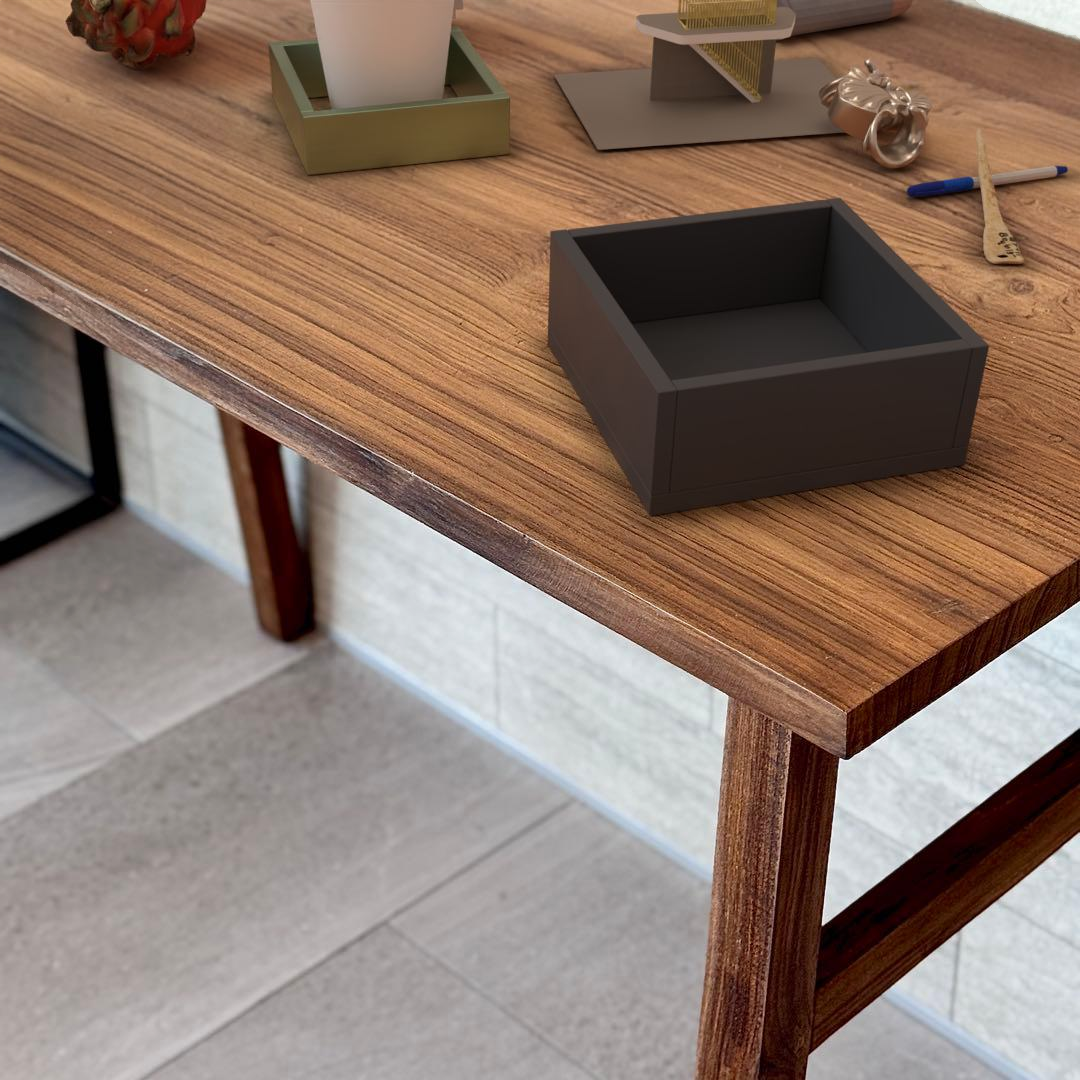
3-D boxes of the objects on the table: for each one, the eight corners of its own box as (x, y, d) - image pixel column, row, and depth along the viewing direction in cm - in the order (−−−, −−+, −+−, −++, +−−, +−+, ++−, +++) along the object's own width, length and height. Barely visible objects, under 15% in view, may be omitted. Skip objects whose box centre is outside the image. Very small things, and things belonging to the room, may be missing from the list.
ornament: (950, 173, 99) (977, 120, 97) (857, 174, 96) (882, 118, 94) (882, 100, 104) (905, 47, 102) (791, 98, 101) (813, 44, 98)
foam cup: (283, 143, 99) (266, -83, 91) (344, 86, 106) (333, -127, 98) (434, 166, 97) (430, -63, 89) (486, 107, 104) (486, -110, 96)
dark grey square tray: (649, 516, 69) (658, 392, 66) (547, 344, 80) (550, 230, 77) (965, 465, 73) (990, 345, 69) (825, 307, 84) (840, 196, 80)
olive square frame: (307, 175, 95) (303, 117, 93) (272, 96, 104) (268, 41, 102) (509, 154, 98) (510, 97, 96) (458, 79, 107) (458, 25, 105)
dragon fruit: (118, 119, 105) (150, 75, 115) (223, 37, 103) (245, 0, 113) (23, 5, 101) (64, -29, 112) (129, -81, 99) (161, -108, 110)
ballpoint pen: (903, 198, 95) (912, 205, 94) (905, 183, 94) (914, 190, 93) (1061, 171, 98) (1071, 178, 97) (1064, 157, 97) (1074, 164, 96)
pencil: (781, 49, 113) (791, 8, 111) (757, 27, 115) (767, -13, 113) (911, 27, 118) (923, -13, 116) (886, 7, 120) (897, -33, 118)
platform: (885, 129, 102) (901, 22, 98) (597, 149, 98) (602, 40, 94) (817, 58, 111) (830, -42, 107) (553, 74, 108) (556, -28, 104)
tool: (997, 133, 98) (962, 132, 98) (999, 122, 97) (964, 120, 97) (1023, 273, 88) (984, 272, 88) (1025, 262, 88) (987, 260, 88)
